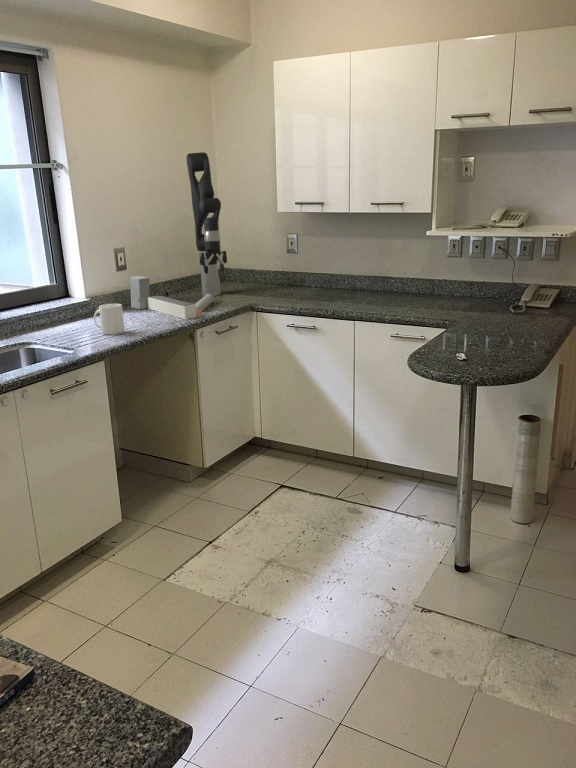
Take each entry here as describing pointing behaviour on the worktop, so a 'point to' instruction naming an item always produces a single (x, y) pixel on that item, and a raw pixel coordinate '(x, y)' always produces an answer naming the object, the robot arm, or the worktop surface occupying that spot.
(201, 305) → the tube
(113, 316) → the mug
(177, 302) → the long cream box
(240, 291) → the worktop surface
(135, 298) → the skincare box
